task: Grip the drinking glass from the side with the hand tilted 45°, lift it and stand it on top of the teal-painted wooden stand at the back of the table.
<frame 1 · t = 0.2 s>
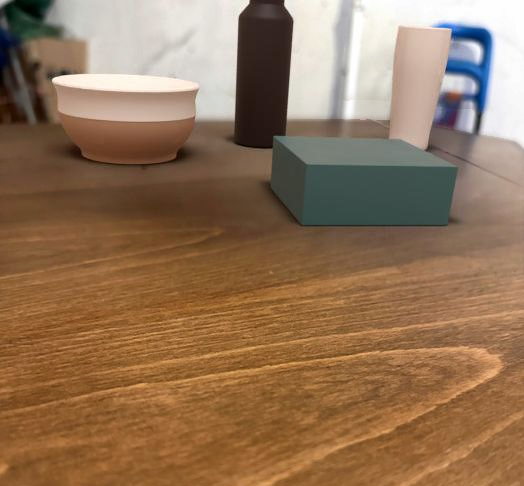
stand: (352, 205, 62), on the table
bottle: (259, 145, 88), on the table
bowl: (129, 156, 77), on the table
drinking glass: (406, 151, 90), on the table
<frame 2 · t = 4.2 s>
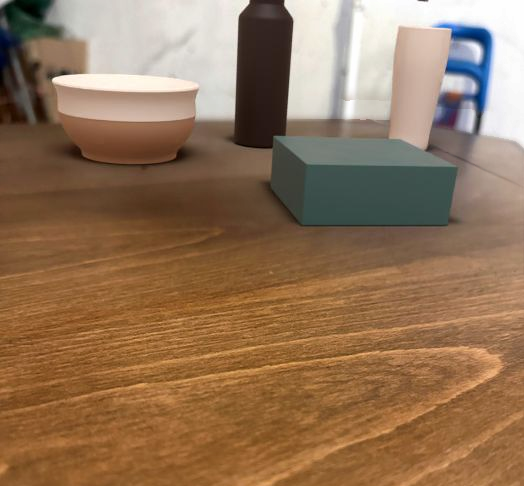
nothing on the table moved.
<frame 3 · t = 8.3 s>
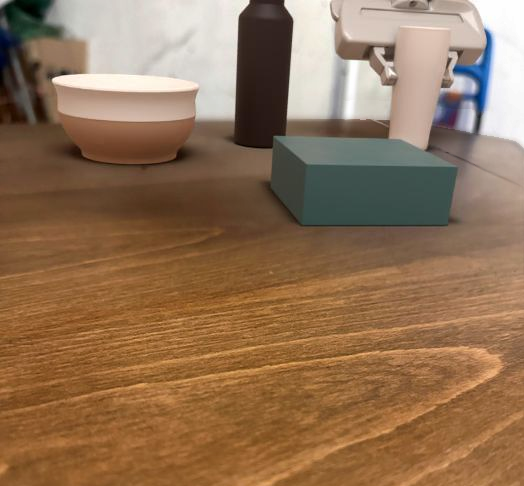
hand: (418, 84, 86), 8 cm above the table, tool tilted 45°, fingers closed on drinking glass, 6 cm apart
drinking glass: (406, 151, 90), on the table, touching gripper
everything else where it was.
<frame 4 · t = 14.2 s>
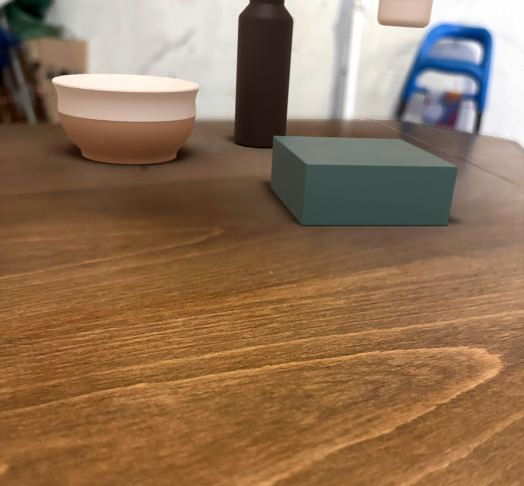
drinking glass: (402, 28, 69), point 15 cm above the table, touching gripper
everything else where it was.
when the fingers open (13 cm above the table, at t = 20.1 s): drinking glass stays where it is, resting on stand.
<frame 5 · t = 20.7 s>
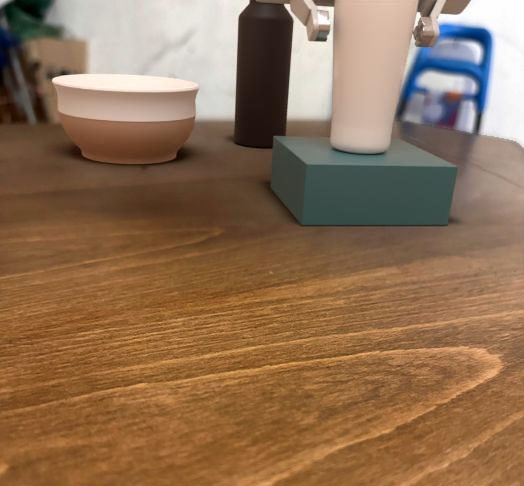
hand: (374, 39, 55), 14 cm above the table, tool tilted 45°, fingers open, 8 cm apart
drinking glass: (358, 152, 60), point 5 cm above the table, touching stand
everything else where it was.
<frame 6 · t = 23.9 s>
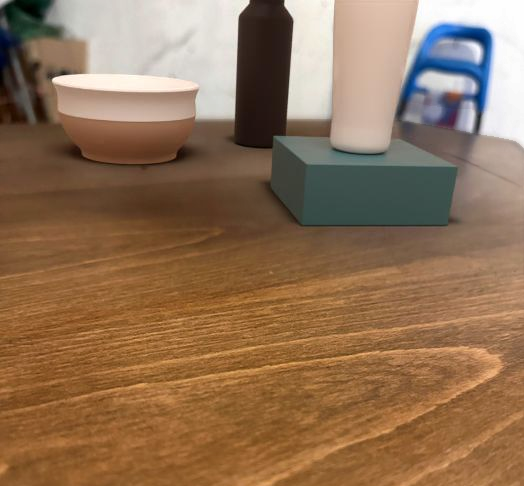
nothing on the table moved.
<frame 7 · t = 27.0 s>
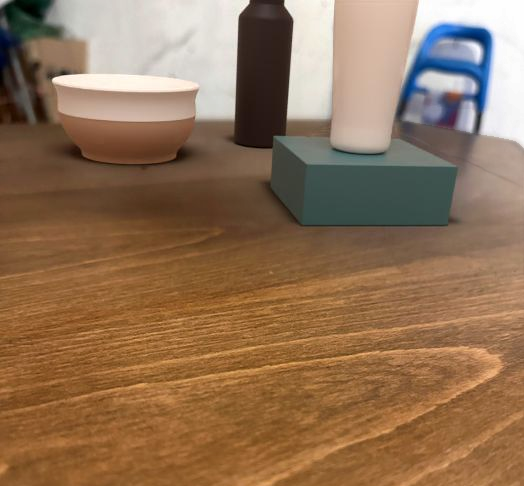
nothing on the table moved.
at the end: drinking glass inside the target area on the stand (0.0 cm from its centre), point 4.8 cm above the stand's base; drinking glass tilted 0°; the gripper is holding nothing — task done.
